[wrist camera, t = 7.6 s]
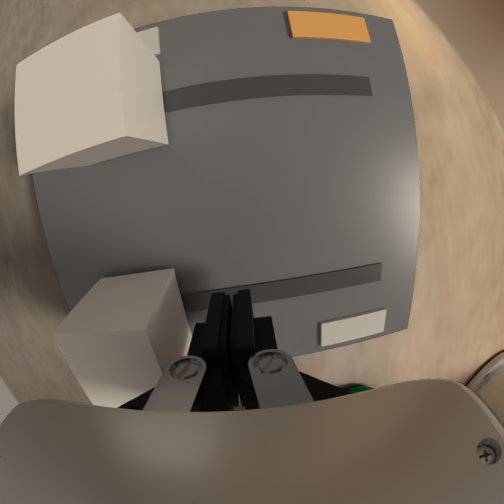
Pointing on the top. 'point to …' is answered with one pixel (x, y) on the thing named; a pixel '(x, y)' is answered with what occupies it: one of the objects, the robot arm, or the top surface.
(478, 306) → the top surface
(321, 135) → the switch panel
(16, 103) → the front slider
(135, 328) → the back slider
